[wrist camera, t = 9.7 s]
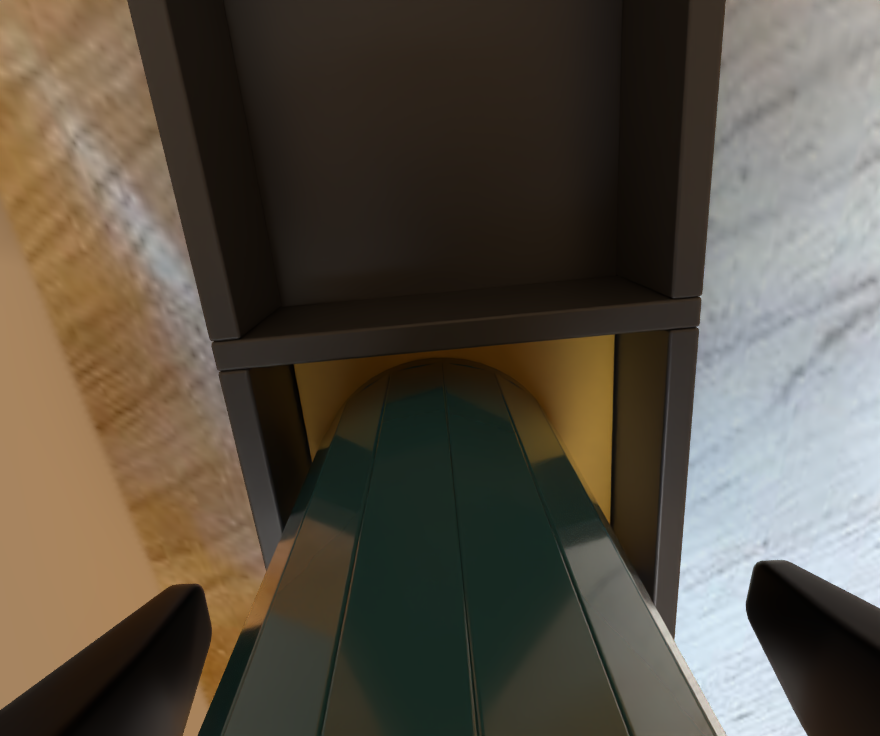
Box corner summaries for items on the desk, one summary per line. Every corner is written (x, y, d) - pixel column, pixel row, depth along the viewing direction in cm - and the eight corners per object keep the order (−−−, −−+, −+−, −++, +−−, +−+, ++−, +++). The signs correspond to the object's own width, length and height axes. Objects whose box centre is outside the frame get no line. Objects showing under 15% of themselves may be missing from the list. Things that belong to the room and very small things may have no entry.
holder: (620, 568, 13) (673, 669, 11) (324, 596, 13) (297, 703, 11) (645, -172, 8) (756, -356, 6) (177, -128, 8) (55, -288, 6)
